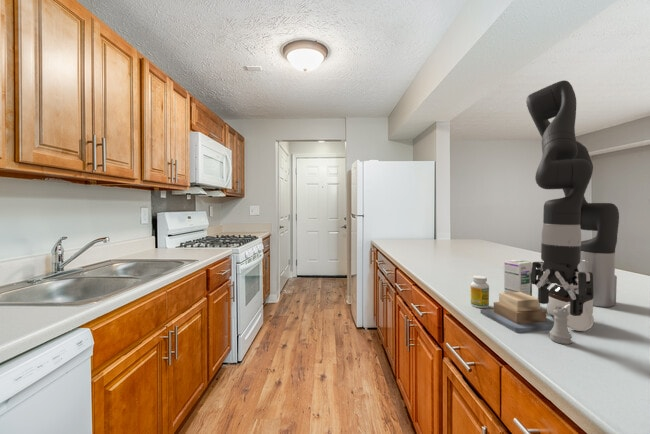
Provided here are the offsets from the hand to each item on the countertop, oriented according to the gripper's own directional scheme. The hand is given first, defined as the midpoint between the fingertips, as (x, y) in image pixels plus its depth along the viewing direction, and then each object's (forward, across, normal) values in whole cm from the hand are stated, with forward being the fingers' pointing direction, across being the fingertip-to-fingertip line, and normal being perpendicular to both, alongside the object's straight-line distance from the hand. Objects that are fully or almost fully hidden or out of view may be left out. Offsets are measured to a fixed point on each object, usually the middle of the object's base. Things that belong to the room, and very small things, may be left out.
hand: (558, 308), depth 73 cm
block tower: (+8, +13, 0) cm, 15 cm away
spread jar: (+8, +8, -13) cm, 17 cm away
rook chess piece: (+8, 0, 0) cm, 8 cm away
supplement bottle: (+8, +26, +3) cm, 27 cm away
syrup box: (+8, +25, -10) cm, 28 cm away
